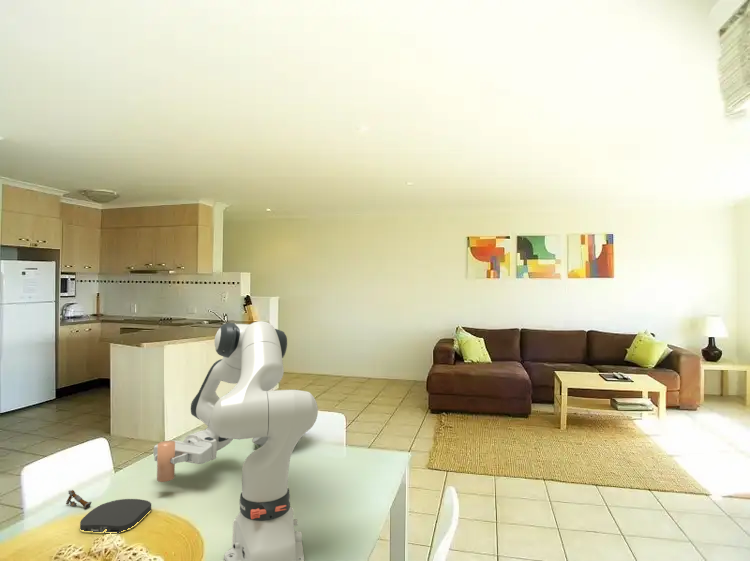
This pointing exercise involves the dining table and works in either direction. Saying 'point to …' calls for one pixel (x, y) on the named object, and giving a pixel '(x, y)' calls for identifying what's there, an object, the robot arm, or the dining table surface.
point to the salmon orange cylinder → (165, 461)
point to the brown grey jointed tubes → (78, 499)
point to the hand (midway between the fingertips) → (163, 460)
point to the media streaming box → (115, 515)
